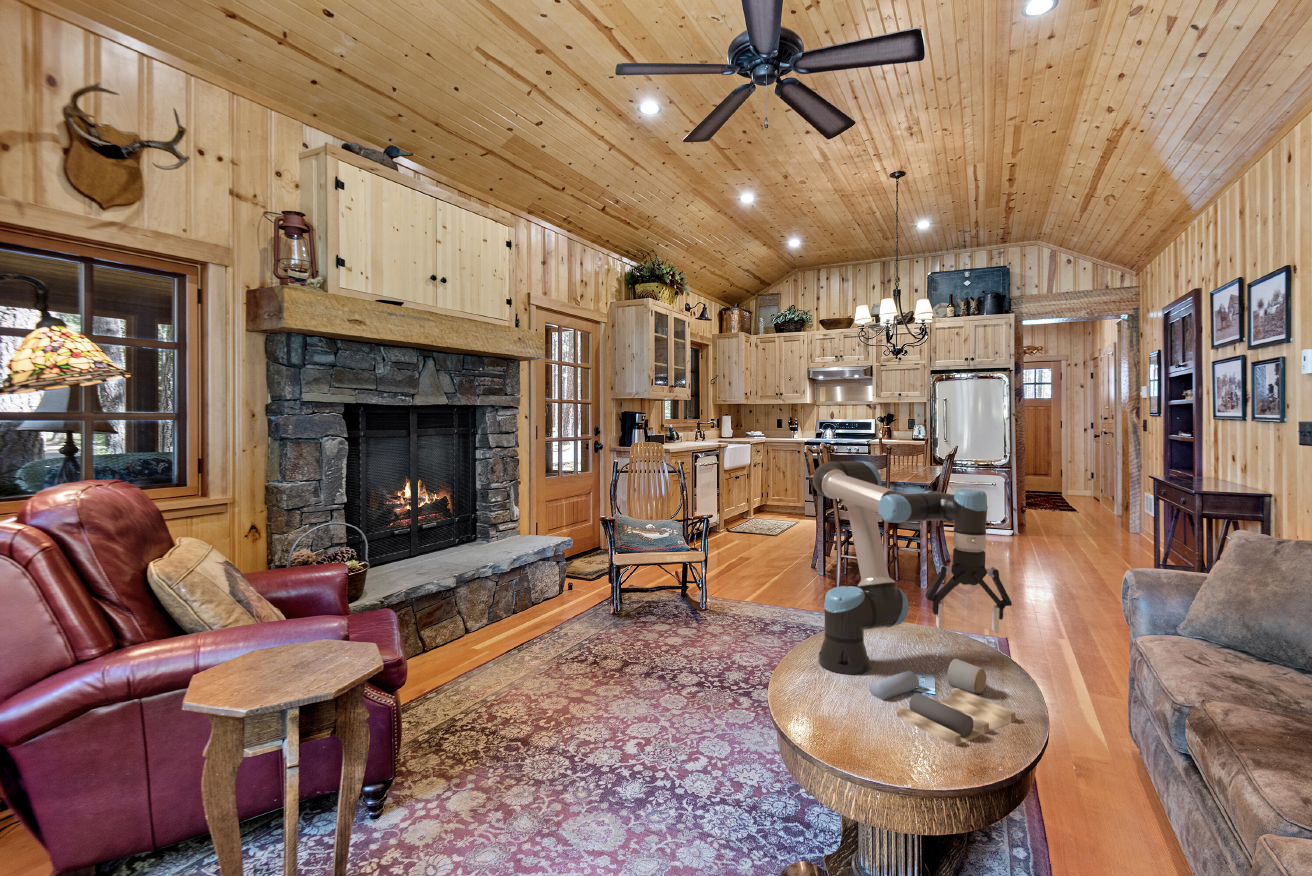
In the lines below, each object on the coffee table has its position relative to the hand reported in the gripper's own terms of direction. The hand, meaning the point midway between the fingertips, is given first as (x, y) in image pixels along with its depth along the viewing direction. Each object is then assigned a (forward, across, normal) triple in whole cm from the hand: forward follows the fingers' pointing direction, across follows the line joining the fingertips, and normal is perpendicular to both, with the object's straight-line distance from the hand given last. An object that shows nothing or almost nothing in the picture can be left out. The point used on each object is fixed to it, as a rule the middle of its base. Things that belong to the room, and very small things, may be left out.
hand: (966, 629), depth 156 cm
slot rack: (+21, -4, -8) cm, 23 cm away
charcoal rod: (+20, -10, -13) cm, 26 cm away
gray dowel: (+22, -17, +5) cm, 28 cm away
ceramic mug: (+22, +4, +13) cm, 26 cm away
